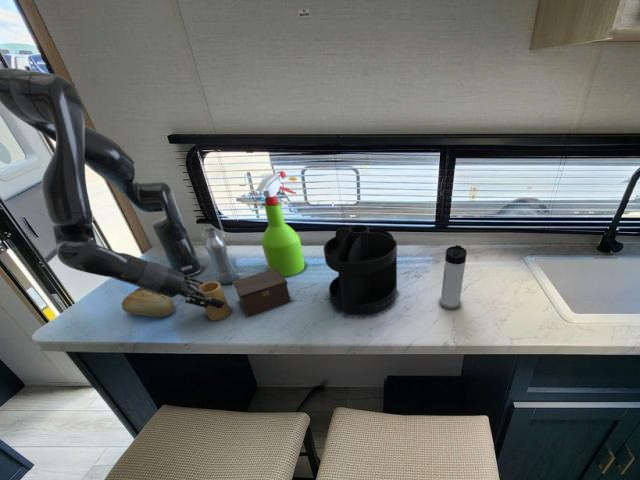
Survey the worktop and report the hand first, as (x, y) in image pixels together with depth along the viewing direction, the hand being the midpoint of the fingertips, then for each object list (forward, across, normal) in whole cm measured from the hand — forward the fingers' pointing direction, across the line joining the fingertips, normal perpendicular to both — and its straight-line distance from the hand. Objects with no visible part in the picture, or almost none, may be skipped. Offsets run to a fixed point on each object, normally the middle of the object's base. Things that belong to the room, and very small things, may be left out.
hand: (219, 299), depth 98 cm
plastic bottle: (+7, +19, 0) cm, 20 cm away
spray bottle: (+23, +17, -17) cm, 33 cm away
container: (+32, -19, -25) cm, 45 cm away
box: (+12, -2, -5) cm, 13 cm away
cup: (+2, 0, +4) cm, 5 cm away
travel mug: (+48, -39, -41) cm, 74 cm away
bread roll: (-10, +13, +17) cm, 23 cm away
